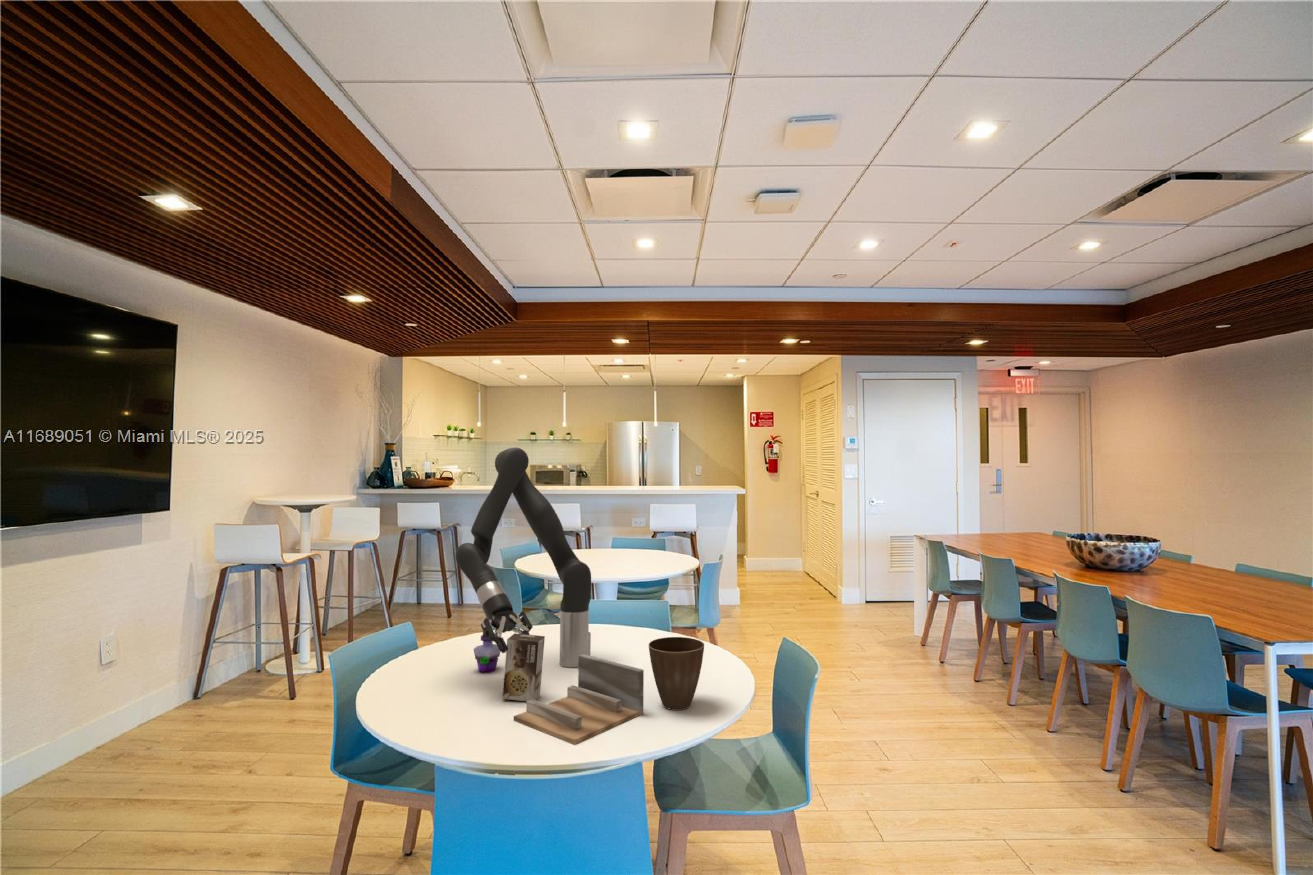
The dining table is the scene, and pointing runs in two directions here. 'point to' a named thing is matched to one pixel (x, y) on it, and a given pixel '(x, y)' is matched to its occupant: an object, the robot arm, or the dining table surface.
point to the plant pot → (676, 669)
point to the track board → (588, 720)
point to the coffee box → (523, 667)
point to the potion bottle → (486, 655)
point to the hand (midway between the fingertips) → (518, 648)
